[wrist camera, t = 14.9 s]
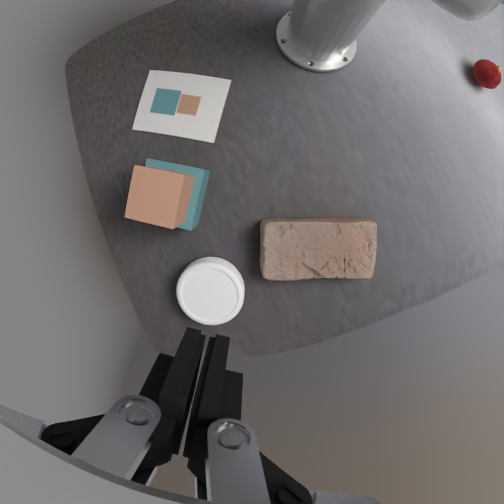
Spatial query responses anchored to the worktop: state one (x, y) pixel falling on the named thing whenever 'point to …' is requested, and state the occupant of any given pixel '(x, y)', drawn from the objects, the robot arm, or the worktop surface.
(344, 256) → the brick
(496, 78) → the onion
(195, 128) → the page
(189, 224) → the base block
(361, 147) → the worktop surface
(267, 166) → the worktop surface
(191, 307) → the coaster
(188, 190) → the clay block
